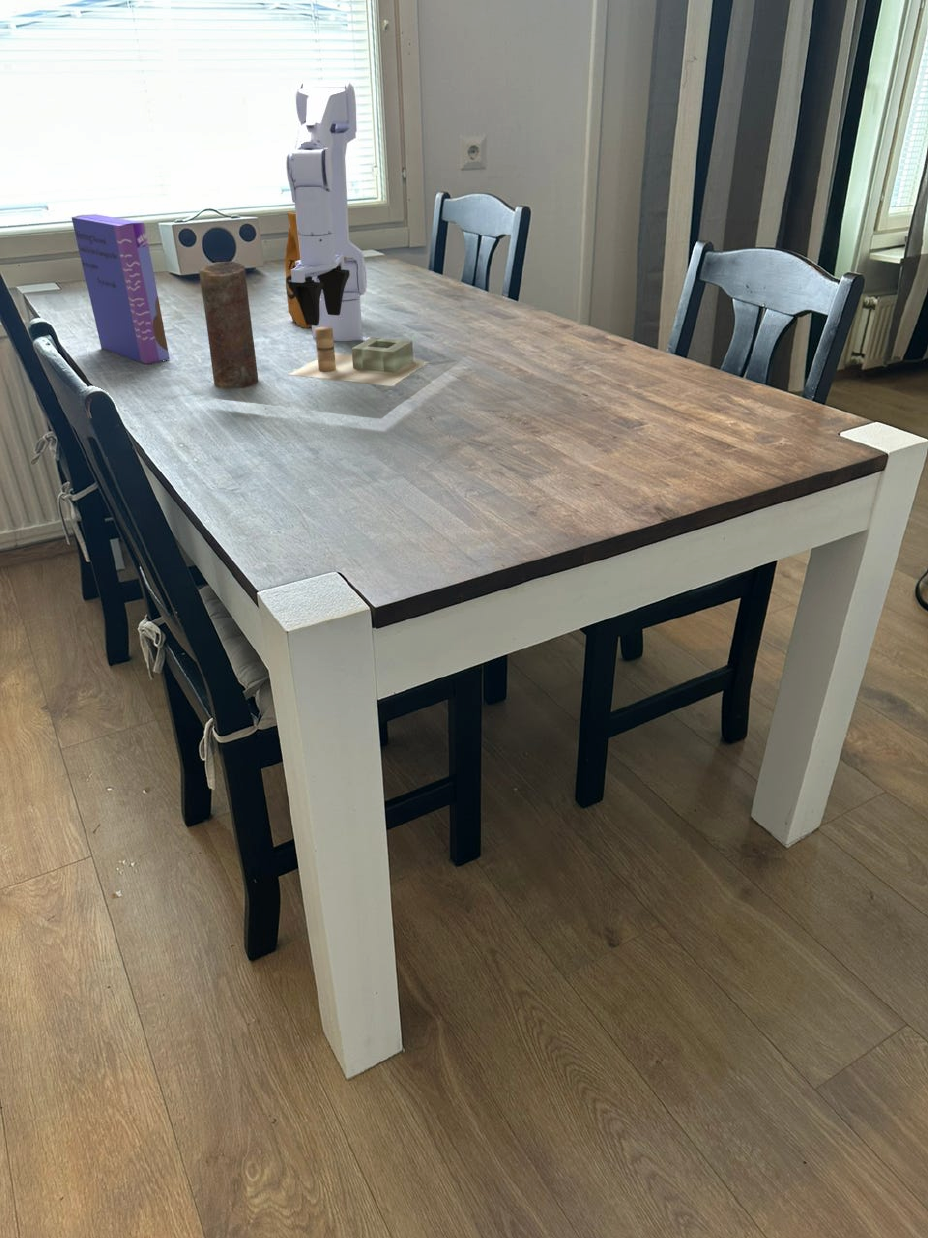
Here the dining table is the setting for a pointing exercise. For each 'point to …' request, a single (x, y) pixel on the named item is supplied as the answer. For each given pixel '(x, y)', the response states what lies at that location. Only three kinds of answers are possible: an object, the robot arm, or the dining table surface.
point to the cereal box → (121, 287)
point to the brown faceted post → (229, 325)
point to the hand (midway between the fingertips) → (323, 319)
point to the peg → (325, 349)
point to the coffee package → (290, 259)
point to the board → (357, 373)
